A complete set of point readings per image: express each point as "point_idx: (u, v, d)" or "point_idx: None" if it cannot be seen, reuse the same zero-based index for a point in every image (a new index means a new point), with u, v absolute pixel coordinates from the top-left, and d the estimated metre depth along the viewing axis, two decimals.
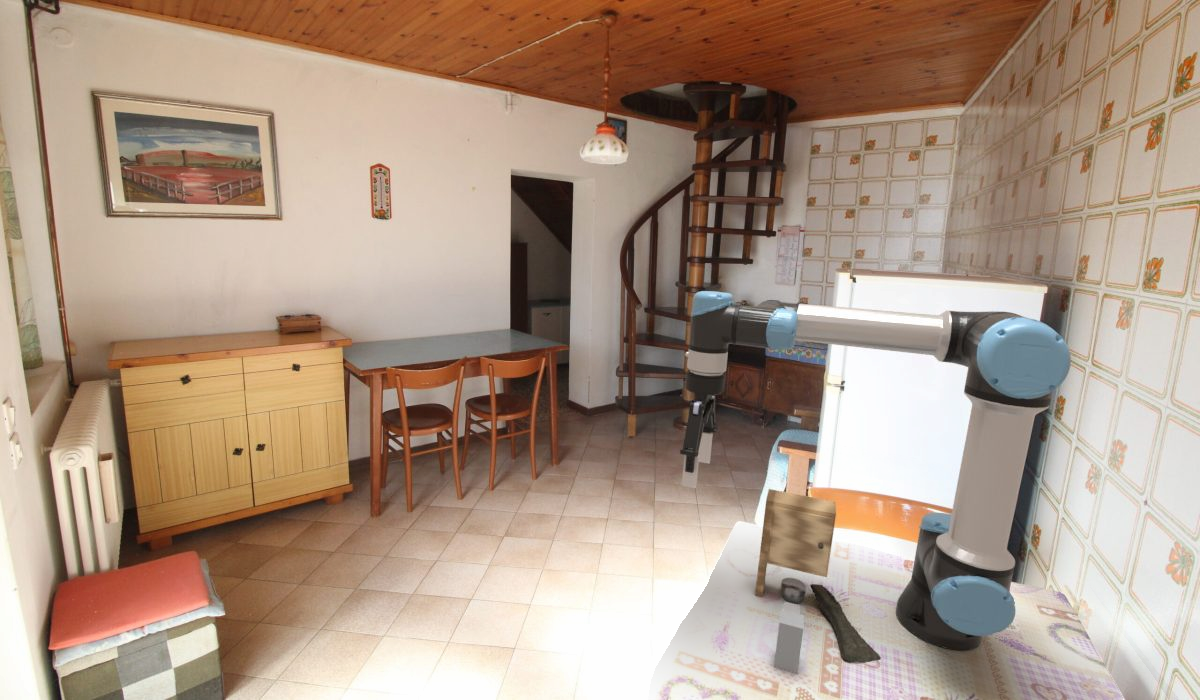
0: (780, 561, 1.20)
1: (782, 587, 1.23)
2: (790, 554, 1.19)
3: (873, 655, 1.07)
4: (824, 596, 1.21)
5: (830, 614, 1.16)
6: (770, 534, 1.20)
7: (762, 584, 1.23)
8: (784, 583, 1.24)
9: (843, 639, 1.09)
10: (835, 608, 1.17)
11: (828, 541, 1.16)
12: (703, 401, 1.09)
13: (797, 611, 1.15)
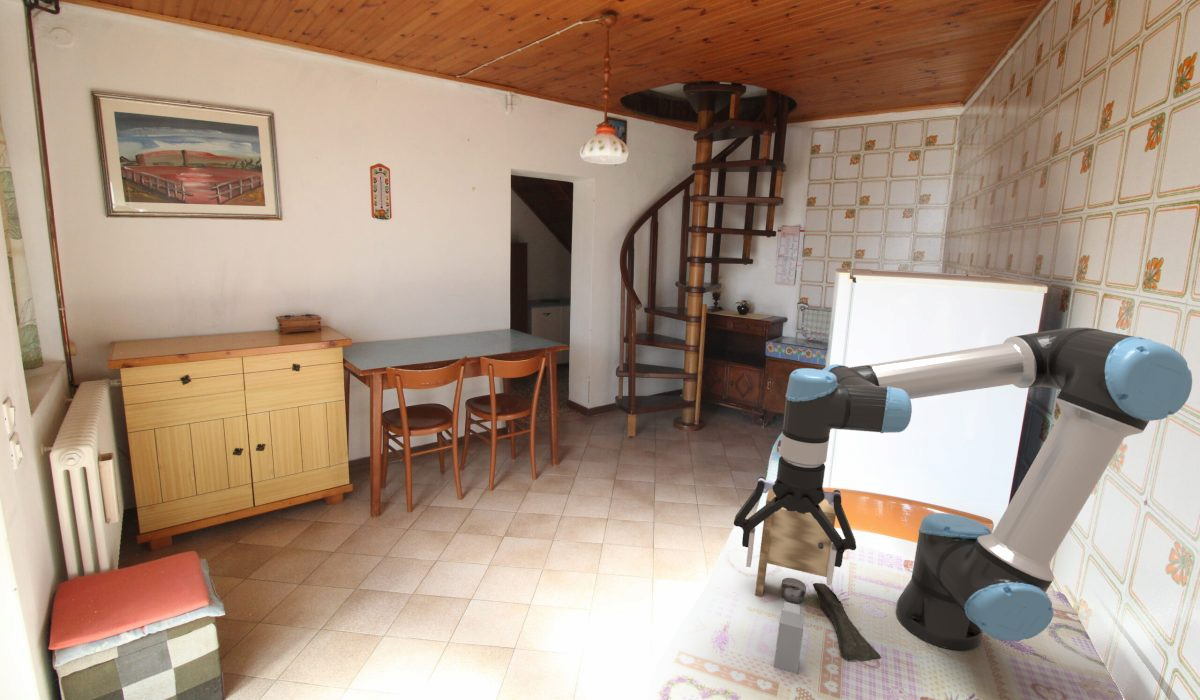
0: (780, 561, 1.20)
1: (782, 587, 1.23)
2: (790, 554, 1.19)
3: (873, 654, 1.07)
4: (826, 595, 1.22)
5: (831, 612, 1.16)
6: (770, 534, 1.20)
7: (762, 584, 1.23)
8: (784, 583, 1.24)
9: (843, 637, 1.10)
10: (837, 607, 1.17)
11: (828, 541, 1.16)
12: (775, 484, 1.00)
13: (797, 611, 1.15)
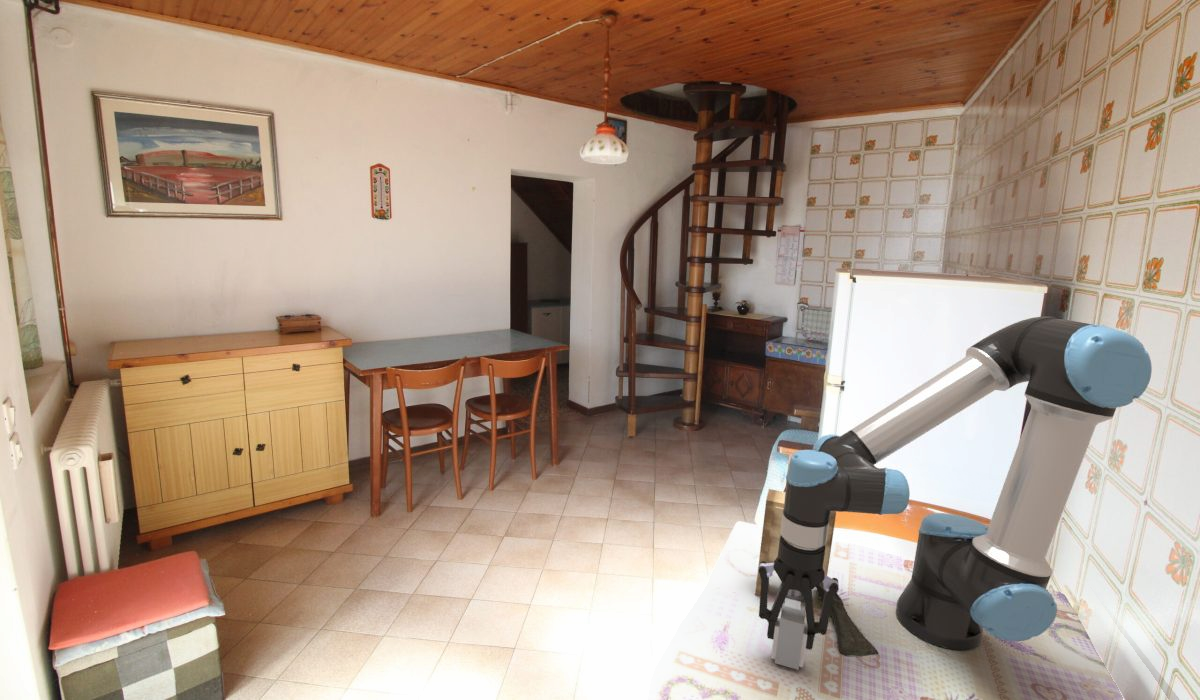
0: None
1: None
2: None
3: (870, 649, 1.08)
4: None
5: (831, 609, 1.18)
6: (770, 534, 1.20)
7: None
8: None
9: (842, 633, 1.11)
10: (836, 603, 1.18)
11: (828, 541, 1.16)
12: (774, 564, 1.01)
13: (798, 607, 1.15)
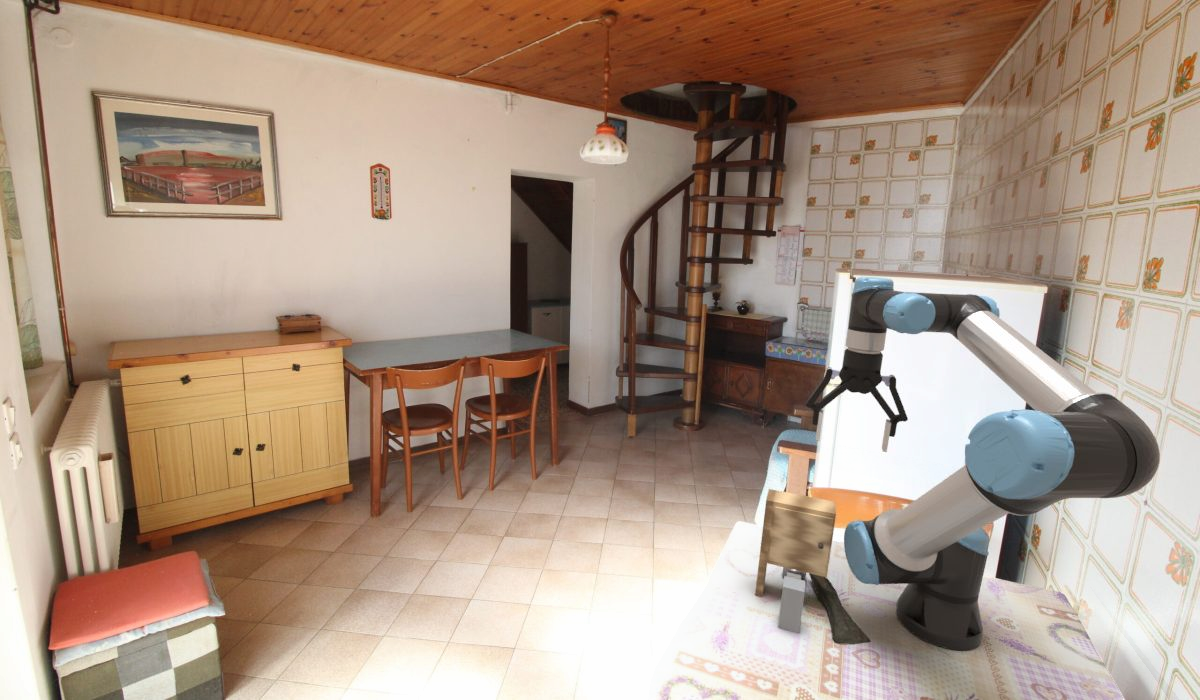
0: (780, 561, 1.20)
1: (784, 569, 1.30)
2: (790, 554, 1.19)
3: (863, 638, 1.12)
4: (822, 583, 1.26)
5: (825, 599, 1.21)
6: (770, 534, 1.20)
7: (762, 584, 1.23)
8: None
9: (835, 622, 1.14)
10: (831, 594, 1.21)
11: (828, 541, 1.16)
12: (841, 371, 1.24)
13: None
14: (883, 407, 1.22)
